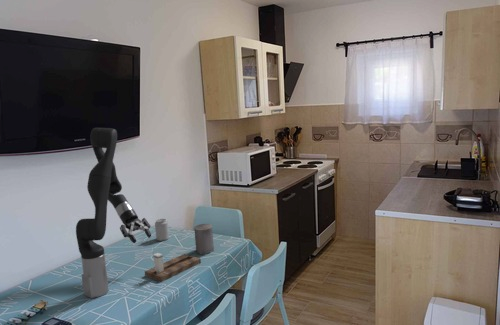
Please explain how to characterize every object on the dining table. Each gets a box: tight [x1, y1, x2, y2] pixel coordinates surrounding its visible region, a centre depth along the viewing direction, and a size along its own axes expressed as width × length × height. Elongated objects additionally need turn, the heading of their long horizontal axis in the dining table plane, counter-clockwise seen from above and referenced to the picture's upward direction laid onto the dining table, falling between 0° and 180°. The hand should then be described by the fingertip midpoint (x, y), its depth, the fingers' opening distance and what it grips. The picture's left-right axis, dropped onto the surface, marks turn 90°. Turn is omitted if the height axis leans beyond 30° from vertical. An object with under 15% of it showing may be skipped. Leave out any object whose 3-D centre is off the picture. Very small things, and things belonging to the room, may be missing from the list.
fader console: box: [144, 253, 202, 283], centre depth 189 cm, size 25×12×2 cm, turn 141°
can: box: [154, 218, 170, 242], centre depth 233 cm, size 8×8×12 cm
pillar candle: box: [193, 223, 215, 255], centre depth 210 cm, size 10×10×15 cm
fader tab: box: [152, 252, 164, 274], centre depth 182 cm, size 2×4×9 cm
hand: (142, 239), depth 187 cm, fingers open, 8 cm apart
